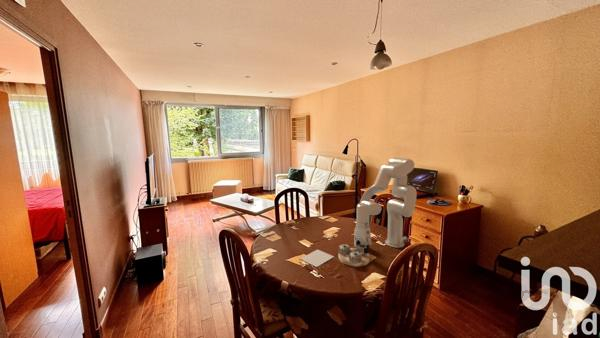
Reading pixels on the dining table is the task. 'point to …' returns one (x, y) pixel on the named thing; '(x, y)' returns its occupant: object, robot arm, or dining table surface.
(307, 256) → the paper stack
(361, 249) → the planet gear
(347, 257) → the carrier
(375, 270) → the dining table surface
